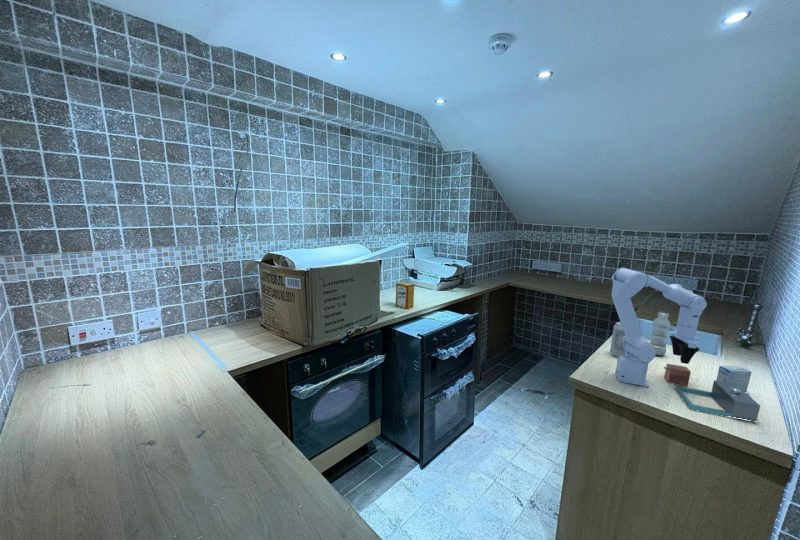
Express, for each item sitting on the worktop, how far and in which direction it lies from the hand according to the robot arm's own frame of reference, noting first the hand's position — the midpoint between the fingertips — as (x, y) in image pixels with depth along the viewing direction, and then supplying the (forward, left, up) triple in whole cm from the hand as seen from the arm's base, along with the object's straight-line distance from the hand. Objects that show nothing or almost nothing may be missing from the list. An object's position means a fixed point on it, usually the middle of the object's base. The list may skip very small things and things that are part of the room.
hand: (680, 358), depth 126 cm
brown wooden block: (0, 0, -10) cm, 10 cm away
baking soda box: (-130, +41, -10) cm, 137 cm away
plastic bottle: (+1, +28, -10) cm, 29 cm away
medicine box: (+17, +2, -10) cm, 20 cm away
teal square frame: (+6, -14, -9) cm, 18 cm away
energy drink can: (-16, +18, -10) cm, 26 cm away
